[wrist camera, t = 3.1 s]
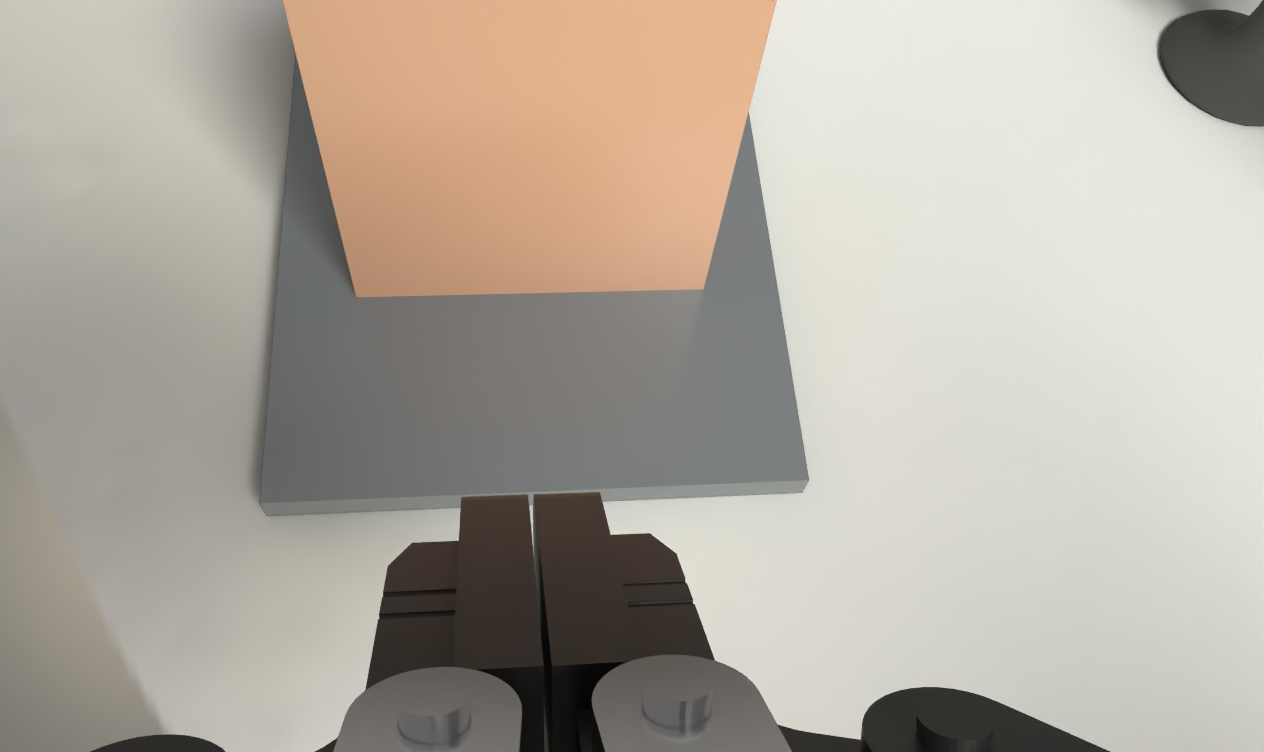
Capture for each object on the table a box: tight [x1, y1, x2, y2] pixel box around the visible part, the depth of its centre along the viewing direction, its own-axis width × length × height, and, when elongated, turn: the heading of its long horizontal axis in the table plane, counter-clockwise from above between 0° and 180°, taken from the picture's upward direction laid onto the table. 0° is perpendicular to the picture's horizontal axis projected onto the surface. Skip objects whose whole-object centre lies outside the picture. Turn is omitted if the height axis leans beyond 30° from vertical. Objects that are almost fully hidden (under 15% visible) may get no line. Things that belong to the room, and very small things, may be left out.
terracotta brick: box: [283, 0, 777, 297], centre depth 26 cm, size 3×9×10 cm, turn 95°
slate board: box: [260, 54, 809, 516], centre depth 32 cm, size 22×13×1 cm, turn 5°
